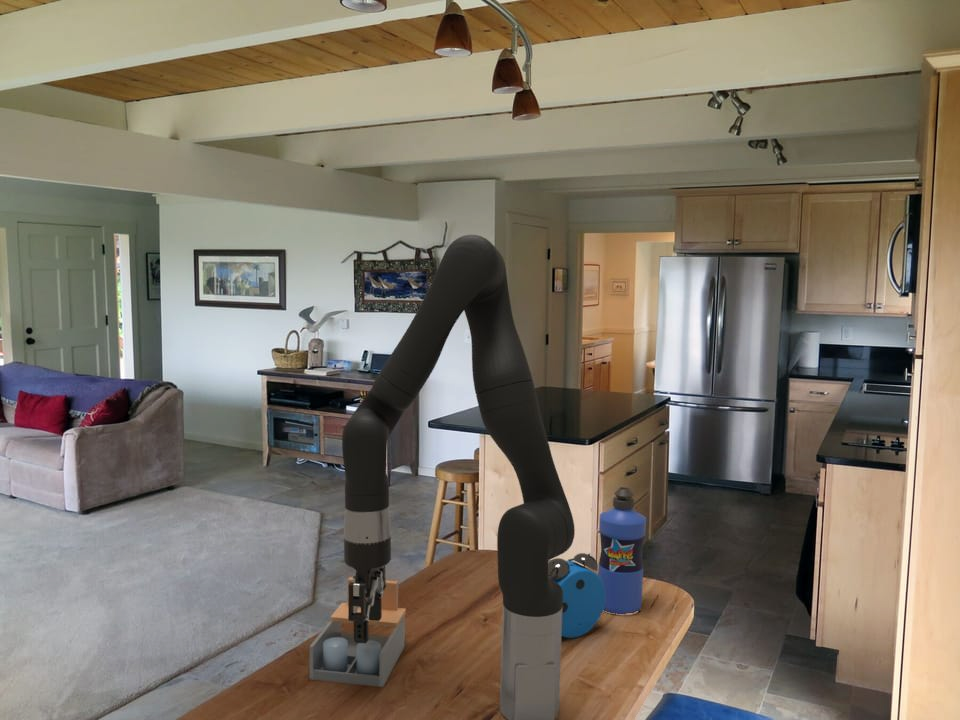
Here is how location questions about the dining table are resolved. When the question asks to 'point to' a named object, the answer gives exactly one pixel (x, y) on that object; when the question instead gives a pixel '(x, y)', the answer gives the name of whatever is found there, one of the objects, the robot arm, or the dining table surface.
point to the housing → (388, 656)
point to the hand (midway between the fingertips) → (368, 630)
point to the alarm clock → (578, 593)
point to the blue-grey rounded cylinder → (368, 658)
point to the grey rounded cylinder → (335, 654)
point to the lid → (389, 608)
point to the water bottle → (622, 554)
